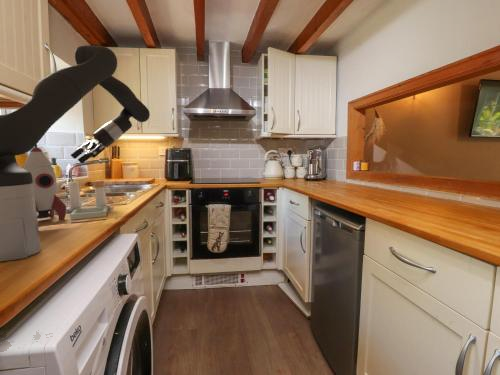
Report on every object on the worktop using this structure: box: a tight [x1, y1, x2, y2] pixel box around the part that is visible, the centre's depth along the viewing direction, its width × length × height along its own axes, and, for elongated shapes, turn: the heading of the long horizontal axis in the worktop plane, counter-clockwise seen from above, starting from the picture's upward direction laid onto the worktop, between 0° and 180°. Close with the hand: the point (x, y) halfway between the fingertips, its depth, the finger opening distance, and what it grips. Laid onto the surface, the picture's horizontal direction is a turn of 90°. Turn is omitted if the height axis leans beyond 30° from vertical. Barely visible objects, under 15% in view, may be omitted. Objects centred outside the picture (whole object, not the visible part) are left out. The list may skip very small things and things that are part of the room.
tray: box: [69, 205, 109, 225], centre depth 103 cm, size 11×11×3 cm
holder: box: [37, 204, 115, 216], centre depth 109 cm, size 7×27×3 cm, turn 114°
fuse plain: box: [67, 181, 82, 213], centre depth 108 cm, size 4×4×12 cm
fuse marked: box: [93, 179, 107, 207], centre depth 112 cm, size 4×4×12 cm
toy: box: [22, 143, 67, 220], centre depth 94 cm, size 11×11×30 cm
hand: (75, 159), depth 108 cm, fingers open, 8 cm apart
